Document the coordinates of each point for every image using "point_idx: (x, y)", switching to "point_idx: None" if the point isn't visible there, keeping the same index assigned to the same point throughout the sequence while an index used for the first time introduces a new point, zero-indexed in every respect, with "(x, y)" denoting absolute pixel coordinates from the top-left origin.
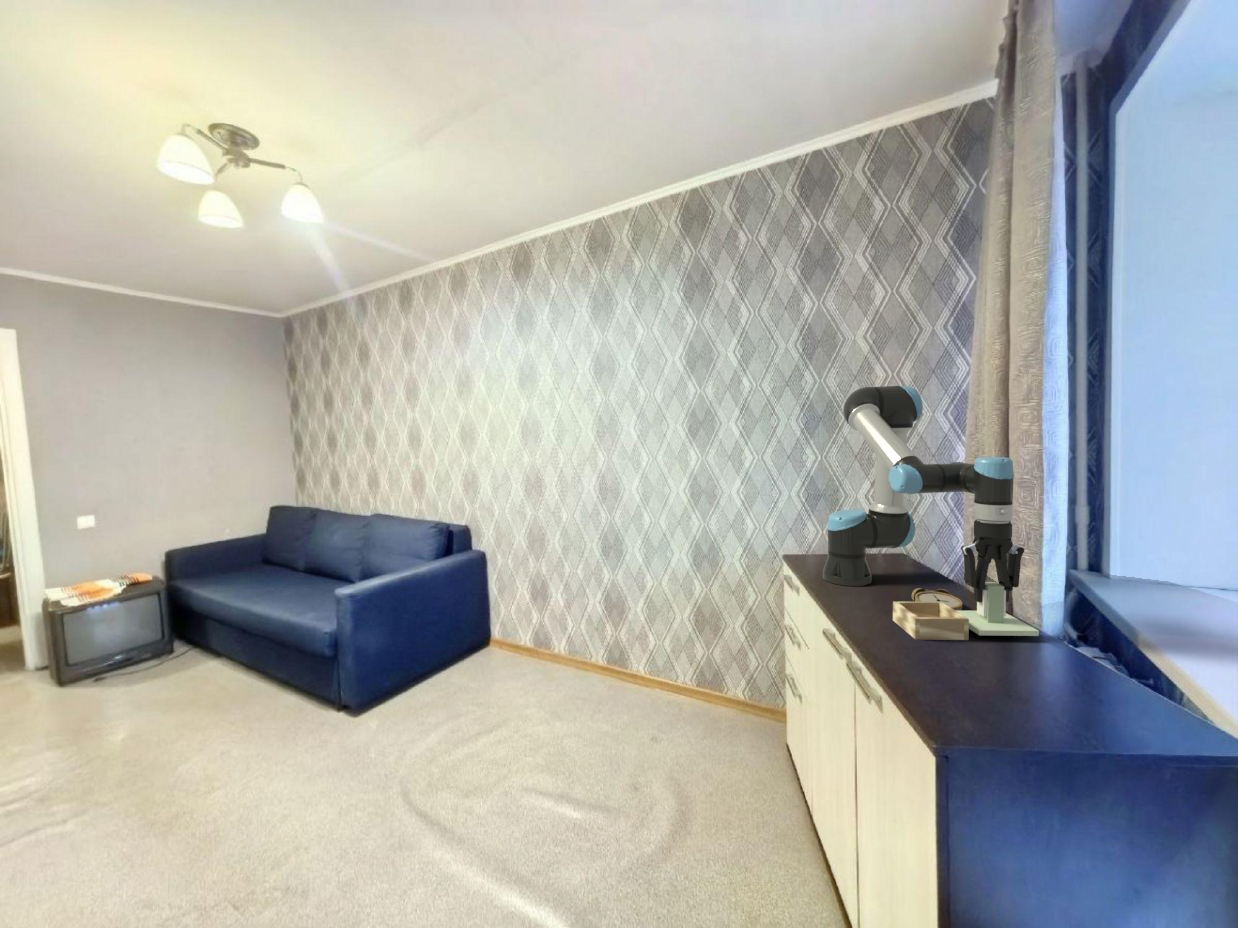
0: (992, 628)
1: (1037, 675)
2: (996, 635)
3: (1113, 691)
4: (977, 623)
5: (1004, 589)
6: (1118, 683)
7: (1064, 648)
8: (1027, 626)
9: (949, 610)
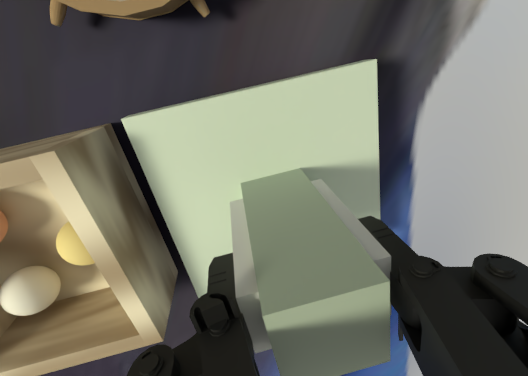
0: None
1: (273, 365)
2: None
3: (363, 373)
4: (213, 250)
5: (393, 303)
6: (391, 348)
7: (410, 227)
8: None
9: (98, 262)
